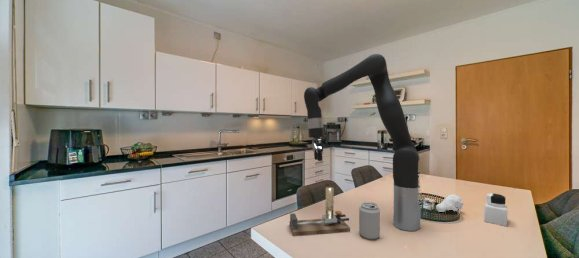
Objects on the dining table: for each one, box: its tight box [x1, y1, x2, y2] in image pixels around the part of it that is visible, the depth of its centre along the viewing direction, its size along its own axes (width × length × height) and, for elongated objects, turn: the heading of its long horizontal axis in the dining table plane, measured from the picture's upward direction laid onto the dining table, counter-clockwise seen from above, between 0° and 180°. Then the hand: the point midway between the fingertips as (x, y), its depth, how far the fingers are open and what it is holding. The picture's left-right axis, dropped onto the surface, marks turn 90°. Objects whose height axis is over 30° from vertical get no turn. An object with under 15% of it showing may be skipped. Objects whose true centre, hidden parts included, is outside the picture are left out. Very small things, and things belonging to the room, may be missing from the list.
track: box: [289, 210, 351, 237], centre depth 91 cm, size 23×10×6 cm, turn 99°
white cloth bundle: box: [435, 193, 464, 214], centre depth 107 cm, size 6×8×12 cm
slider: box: [321, 186, 350, 223], centre depth 92 cm, size 10×4×14 cm, turn 99°
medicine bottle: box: [483, 192, 508, 227], centre depth 97 cm, size 7×7×12 cm
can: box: [358, 201, 381, 241], centre depth 85 cm, size 8×8×12 cm
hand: (318, 160), depth 109 cm, fingers open, 8 cm apart
